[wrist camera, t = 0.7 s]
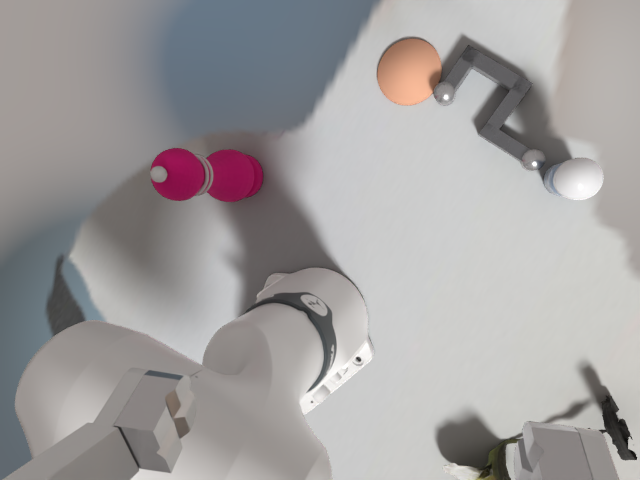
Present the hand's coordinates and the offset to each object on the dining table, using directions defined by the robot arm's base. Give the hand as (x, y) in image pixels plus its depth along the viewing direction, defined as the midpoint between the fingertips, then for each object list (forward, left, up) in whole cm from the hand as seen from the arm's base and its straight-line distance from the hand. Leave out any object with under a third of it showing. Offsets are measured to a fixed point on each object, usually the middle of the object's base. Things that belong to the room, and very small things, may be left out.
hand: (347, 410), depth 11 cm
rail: (+14, +4, -51) cm, 53 cm away
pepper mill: (-12, +29, -51) cm, 60 cm away
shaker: (+11, -6, -51) cm, 52 cm away
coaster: (+12, +16, -51) cm, 55 cm away
